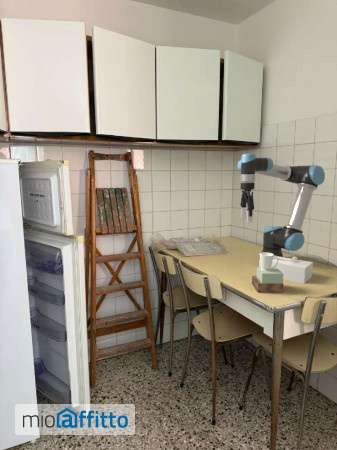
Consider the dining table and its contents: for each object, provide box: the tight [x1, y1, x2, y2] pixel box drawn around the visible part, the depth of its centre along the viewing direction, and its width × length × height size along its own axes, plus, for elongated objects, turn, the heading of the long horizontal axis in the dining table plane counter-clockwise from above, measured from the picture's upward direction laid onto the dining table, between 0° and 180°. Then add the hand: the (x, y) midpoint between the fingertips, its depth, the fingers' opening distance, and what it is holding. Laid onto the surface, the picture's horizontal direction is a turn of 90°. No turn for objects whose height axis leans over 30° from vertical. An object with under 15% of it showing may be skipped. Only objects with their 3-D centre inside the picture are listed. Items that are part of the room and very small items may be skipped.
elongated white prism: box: [258, 256, 314, 284], centre depth 174 cm, size 14×25×11 cm, turn 50°
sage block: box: [255, 266, 284, 285], centre depth 152 cm, size 10×10×5 cm
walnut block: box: [251, 275, 284, 294], centre depth 154 cm, size 12×12×5 cm
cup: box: [259, 251, 278, 271], centre depth 153 cm, size 7×10×8 cm
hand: (246, 220), depth 173 cm, fingers open, 13 cm apart
